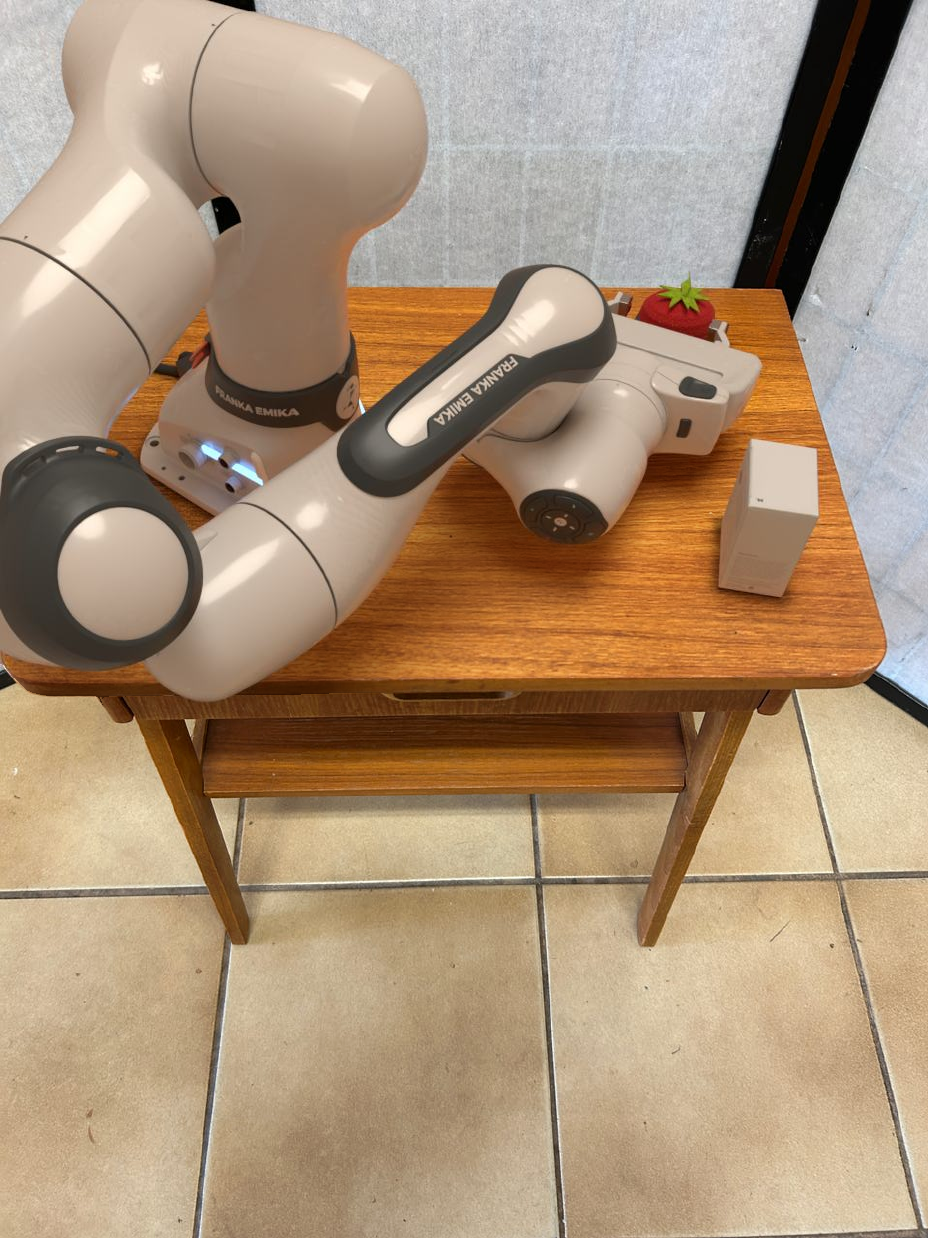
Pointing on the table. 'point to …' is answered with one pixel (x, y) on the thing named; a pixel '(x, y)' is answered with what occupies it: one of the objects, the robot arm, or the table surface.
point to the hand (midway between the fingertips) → (671, 312)
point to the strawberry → (679, 310)
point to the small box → (768, 517)
